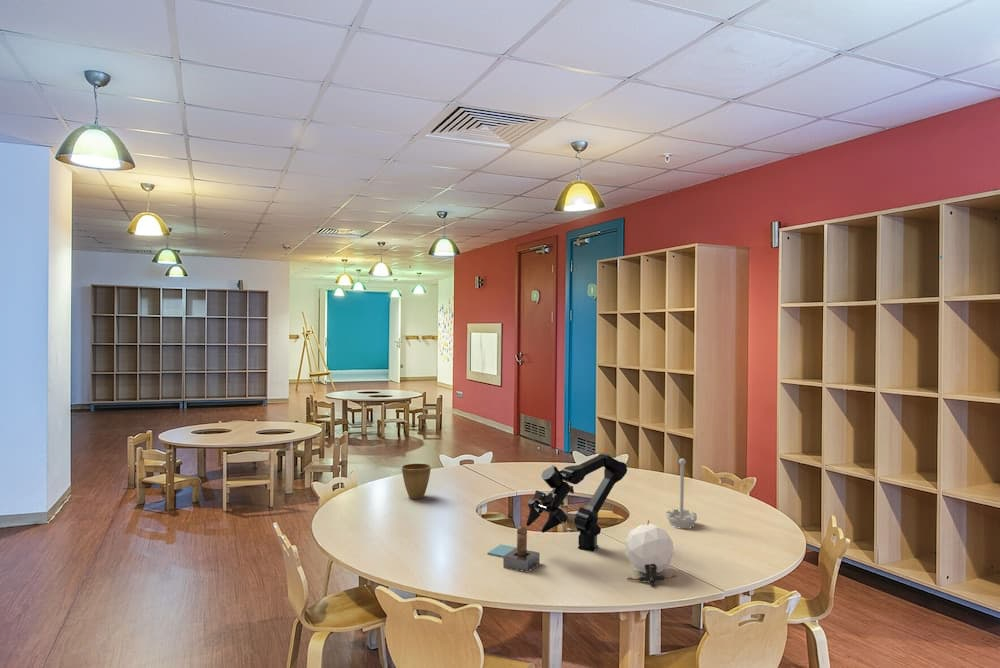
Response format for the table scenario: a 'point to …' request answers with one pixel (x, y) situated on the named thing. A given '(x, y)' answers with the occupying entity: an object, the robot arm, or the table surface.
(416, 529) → the table surface
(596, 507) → the robot arm
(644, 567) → the white faceted globe lamp
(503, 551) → the blue square plate
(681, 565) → the table surface
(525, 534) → the brown wooden pin
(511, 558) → the block
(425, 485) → the plant pot
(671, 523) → the flag stand
